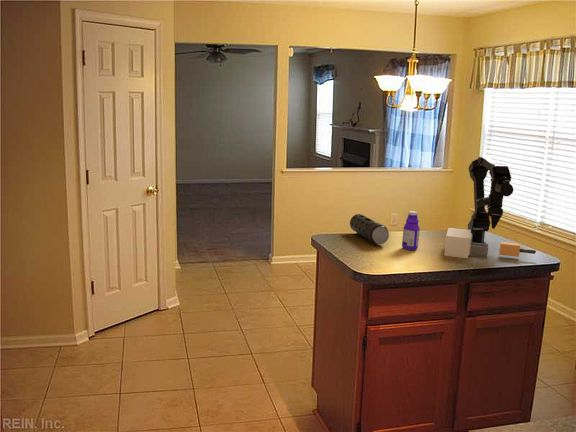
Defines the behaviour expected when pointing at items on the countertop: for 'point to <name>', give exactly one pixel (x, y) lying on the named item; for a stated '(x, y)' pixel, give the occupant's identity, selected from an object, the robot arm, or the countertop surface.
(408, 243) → the bottle
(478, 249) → the socket box
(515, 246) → the plug
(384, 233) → the muzzle brake
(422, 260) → the countertop surface
